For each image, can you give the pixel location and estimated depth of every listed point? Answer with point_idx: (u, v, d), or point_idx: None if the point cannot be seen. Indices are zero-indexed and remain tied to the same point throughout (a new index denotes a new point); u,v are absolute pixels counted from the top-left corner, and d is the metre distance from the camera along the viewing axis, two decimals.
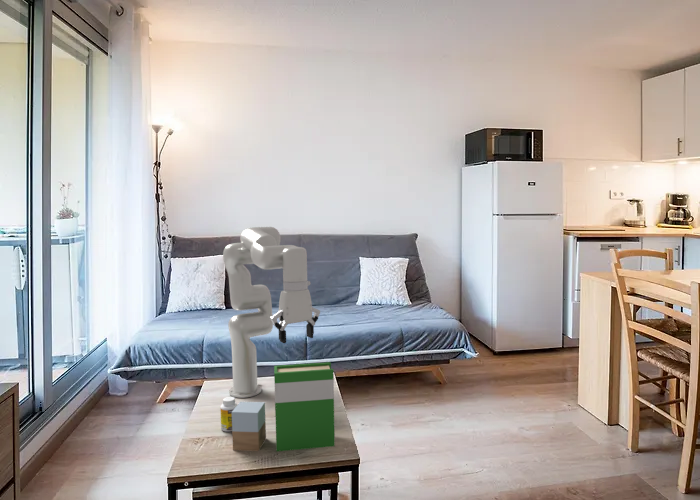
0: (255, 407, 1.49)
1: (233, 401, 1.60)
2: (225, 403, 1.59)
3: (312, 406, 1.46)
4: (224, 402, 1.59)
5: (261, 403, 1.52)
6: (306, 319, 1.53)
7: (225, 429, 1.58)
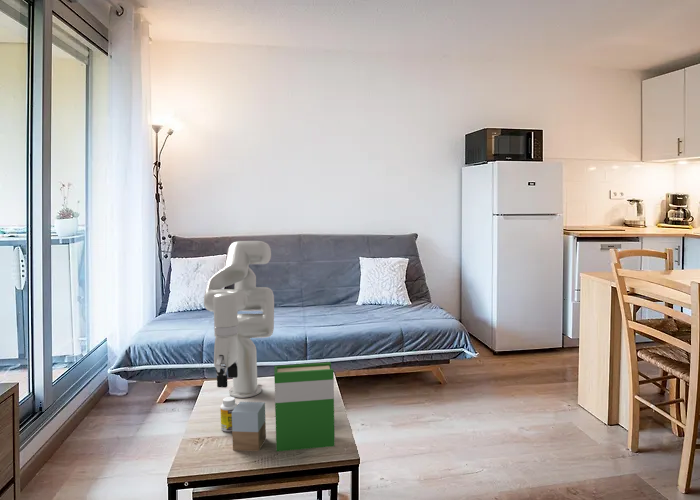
0: (255, 407, 1.49)
1: (233, 401, 1.60)
2: (225, 403, 1.59)
3: (312, 406, 1.46)
4: (224, 402, 1.59)
5: (261, 403, 1.52)
6: (235, 360, 1.61)
7: (225, 429, 1.58)
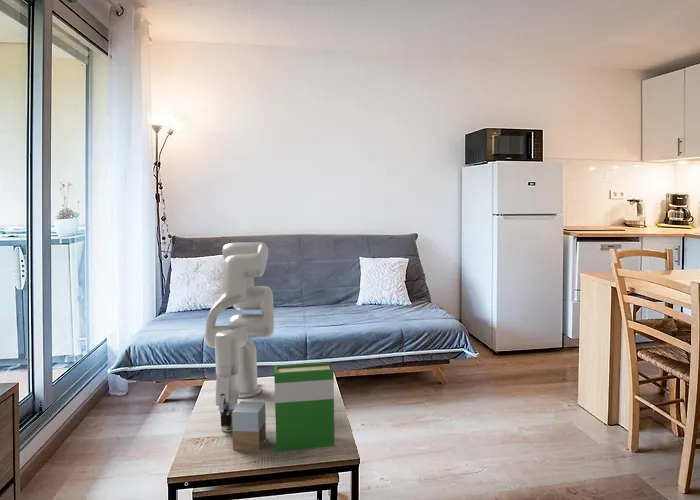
0: (255, 406, 1.49)
1: None
2: (225, 403, 1.59)
3: (312, 406, 1.46)
4: None
5: (261, 403, 1.52)
6: (237, 397, 1.63)
7: (225, 429, 1.58)
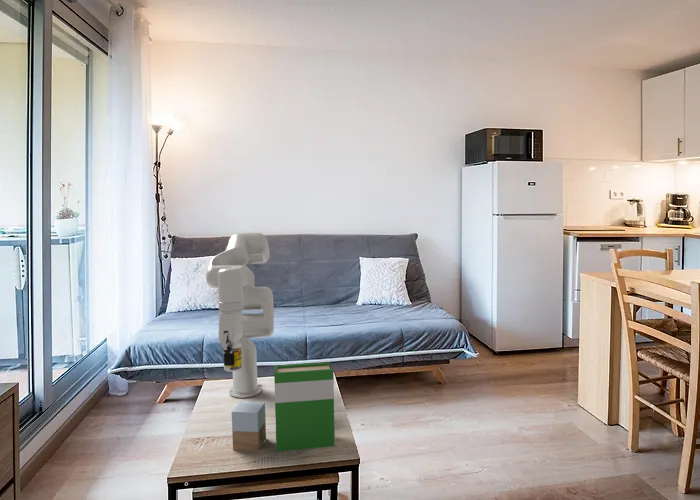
0: (255, 406, 1.49)
1: None
2: (228, 342, 1.53)
3: (312, 406, 1.46)
4: None
5: (261, 403, 1.52)
6: (241, 337, 1.58)
7: (228, 369, 1.53)
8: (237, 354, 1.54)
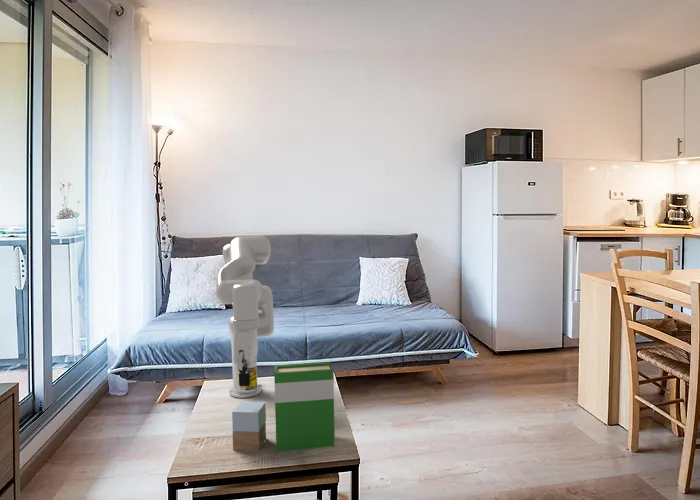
0: (255, 406, 1.49)
1: None
2: (243, 361, 1.46)
3: (312, 406, 1.46)
4: None
5: (262, 403, 1.52)
6: (256, 356, 1.50)
7: (243, 389, 1.46)
8: (252, 374, 1.46)
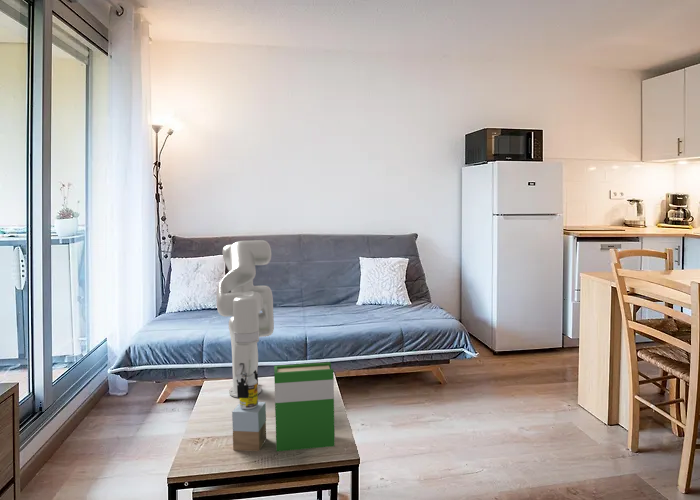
0: None
1: (253, 376, 1.48)
2: (244, 378, 1.47)
3: (312, 406, 1.46)
4: (243, 377, 1.47)
5: (262, 403, 1.52)
6: (256, 368, 1.51)
7: (244, 406, 1.47)
8: (253, 391, 1.47)
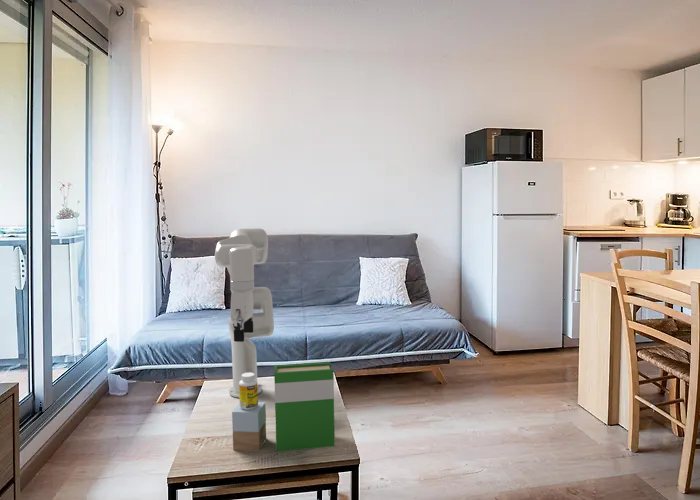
0: None
1: (253, 377, 1.48)
2: (244, 379, 1.47)
3: (312, 406, 1.46)
4: (243, 378, 1.47)
5: (262, 403, 1.52)
6: (251, 315, 1.60)
7: (244, 407, 1.47)
8: (253, 392, 1.47)
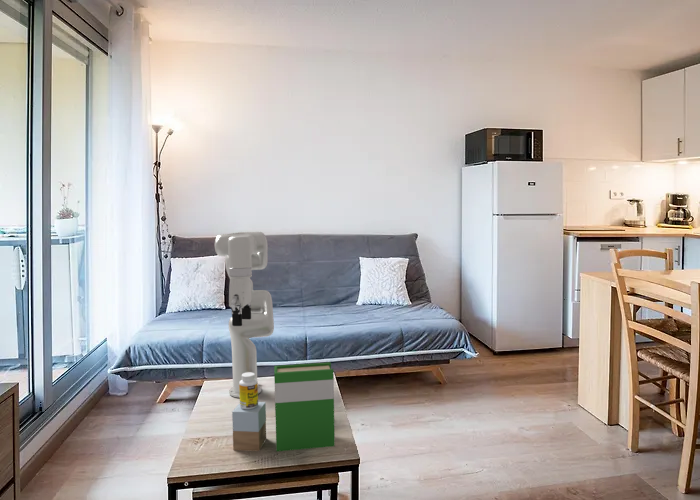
0: None
1: (253, 376, 1.48)
2: (244, 379, 1.47)
3: (312, 406, 1.46)
4: (243, 377, 1.47)
5: (262, 403, 1.52)
6: (249, 302, 1.67)
7: (244, 407, 1.47)
8: (253, 391, 1.47)
